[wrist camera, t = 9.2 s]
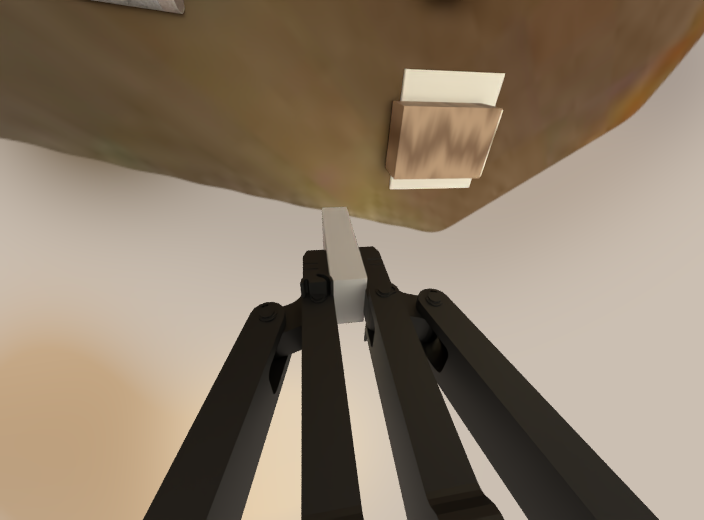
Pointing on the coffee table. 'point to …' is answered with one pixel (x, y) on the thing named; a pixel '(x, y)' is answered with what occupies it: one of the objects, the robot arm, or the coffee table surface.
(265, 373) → the robot arm
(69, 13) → the coffee table surface
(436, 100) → the felt mat
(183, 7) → the rubber mallet
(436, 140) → the wooden block
